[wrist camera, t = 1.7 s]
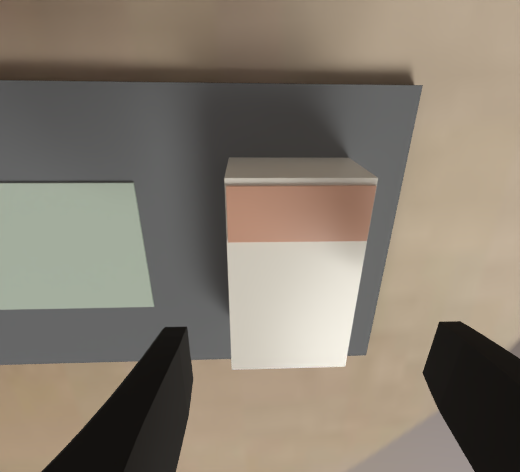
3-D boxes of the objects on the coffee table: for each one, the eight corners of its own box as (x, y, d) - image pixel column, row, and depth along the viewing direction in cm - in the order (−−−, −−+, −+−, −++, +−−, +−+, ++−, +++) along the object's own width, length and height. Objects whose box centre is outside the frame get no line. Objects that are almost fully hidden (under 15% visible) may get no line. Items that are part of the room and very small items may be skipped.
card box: (327, 318, 17) (345, 368, 14) (234, 320, 17) (231, 371, 14) (348, 157, 13) (379, 178, 10) (228, 157, 13) (223, 179, 10)
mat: (-24, 357, 18) (-34, 367, 17) (-166, 78, 12) (-189, 78, 11) (362, 347, 19) (366, 356, 18) (415, 85, 13) (424, 85, 12)
